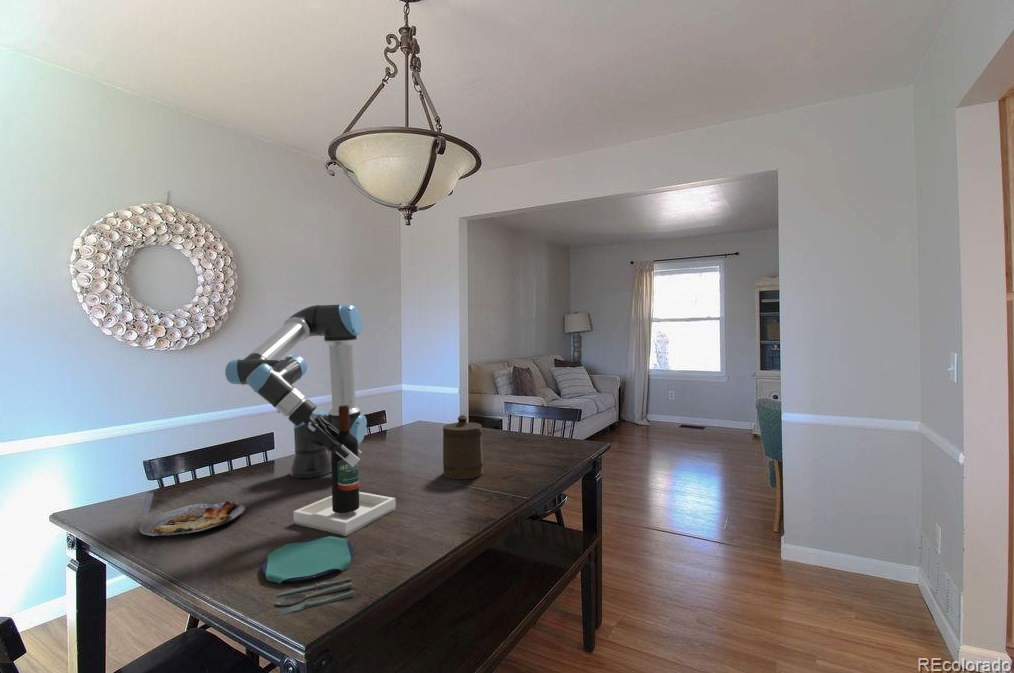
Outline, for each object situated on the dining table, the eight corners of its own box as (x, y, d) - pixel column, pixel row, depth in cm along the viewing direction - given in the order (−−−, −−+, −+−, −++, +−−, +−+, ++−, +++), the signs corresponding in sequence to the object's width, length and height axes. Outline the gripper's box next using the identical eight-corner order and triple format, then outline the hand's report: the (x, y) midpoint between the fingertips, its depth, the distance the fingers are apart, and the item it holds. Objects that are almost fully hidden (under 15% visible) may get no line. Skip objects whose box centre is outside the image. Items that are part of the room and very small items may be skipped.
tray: (293, 523, 134) (293, 511, 133) (346, 500, 151) (346, 489, 151) (346, 535, 125) (346, 522, 125) (395, 509, 143) (395, 498, 143)
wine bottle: (352, 501, 143) (350, 403, 143) (364, 507, 138) (362, 405, 138) (327, 508, 138) (325, 406, 138) (339, 515, 133) (337, 409, 132)
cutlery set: (349, 538, 124) (349, 529, 124) (364, 599, 96) (364, 587, 96) (265, 555, 116) (264, 545, 116) (254, 626, 88) (254, 614, 88)
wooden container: (473, 466, 188) (472, 411, 187) (489, 476, 174) (488, 416, 174) (438, 471, 181) (437, 414, 181) (451, 482, 168) (450, 420, 167)
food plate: (257, 504, 149) (256, 493, 149) (226, 536, 126) (225, 523, 126) (169, 513, 145) (169, 502, 145) (122, 548, 122) (121, 534, 122)
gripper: (294, 411, 144) (351, 460, 148) (278, 424, 124) (344, 479, 128) (312, 393, 145) (368, 442, 149) (300, 403, 125) (364, 458, 129)
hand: (357, 459), depth 139 cm, fingers closed on wine bottle, 7 cm apart
